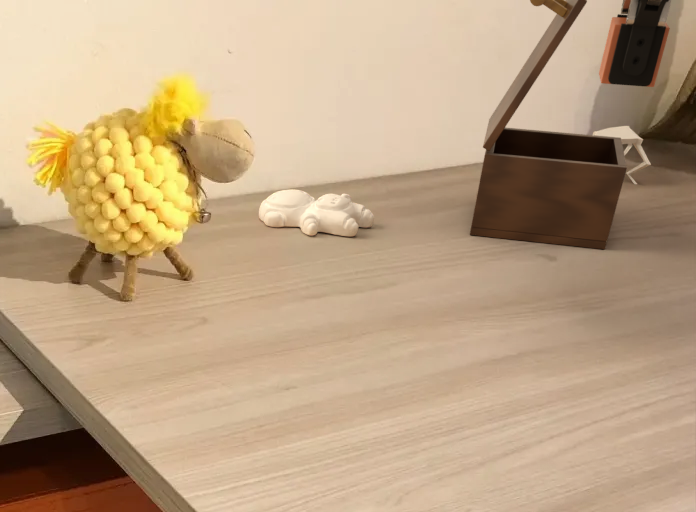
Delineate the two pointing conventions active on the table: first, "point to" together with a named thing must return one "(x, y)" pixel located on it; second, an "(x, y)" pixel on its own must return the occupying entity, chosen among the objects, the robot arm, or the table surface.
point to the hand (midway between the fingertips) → (627, 75)
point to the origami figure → (627, 138)
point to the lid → (533, 64)
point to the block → (611, 47)
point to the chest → (550, 188)
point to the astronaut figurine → (315, 213)
